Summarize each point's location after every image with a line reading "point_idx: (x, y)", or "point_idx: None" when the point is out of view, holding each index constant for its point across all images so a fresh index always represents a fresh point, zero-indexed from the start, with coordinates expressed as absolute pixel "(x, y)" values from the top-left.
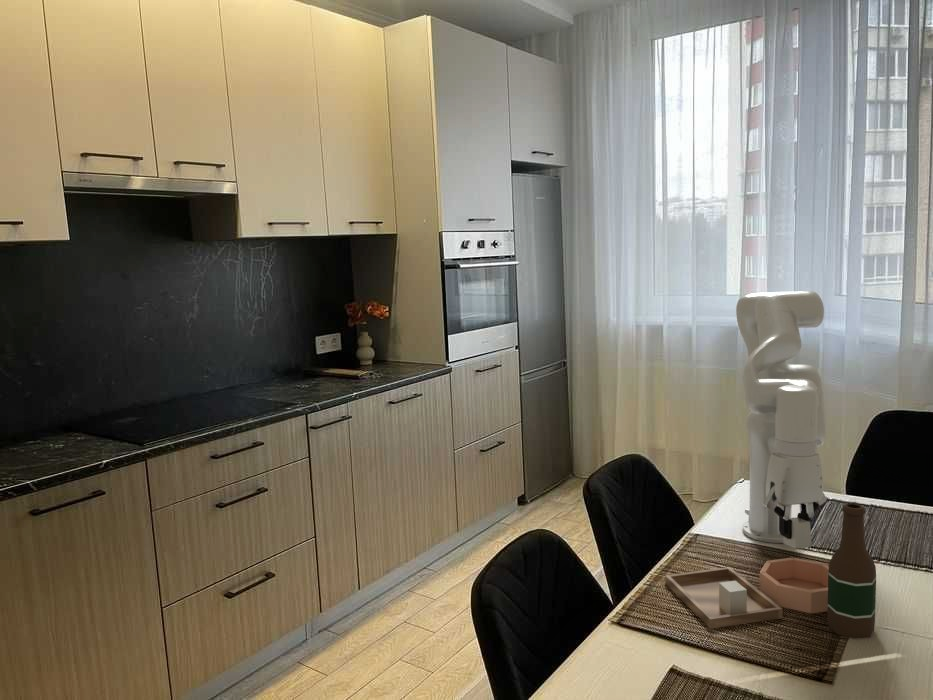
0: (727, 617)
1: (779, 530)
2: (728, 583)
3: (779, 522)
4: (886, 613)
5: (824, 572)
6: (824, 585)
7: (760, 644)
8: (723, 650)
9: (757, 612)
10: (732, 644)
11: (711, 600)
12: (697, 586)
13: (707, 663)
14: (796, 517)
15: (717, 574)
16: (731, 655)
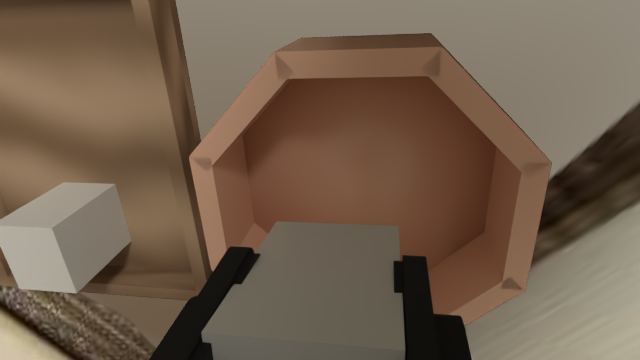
0: None
1: (192, 303)
2: (22, 239)
3: (156, 357)
4: (551, 333)
5: (510, 184)
6: (495, 161)
7: (132, 335)
8: (49, 328)
9: (133, 295)
10: (72, 317)
11: (47, 140)
12: (11, 28)
13: (12, 349)
14: (391, 349)
15: None
16: (61, 345)
